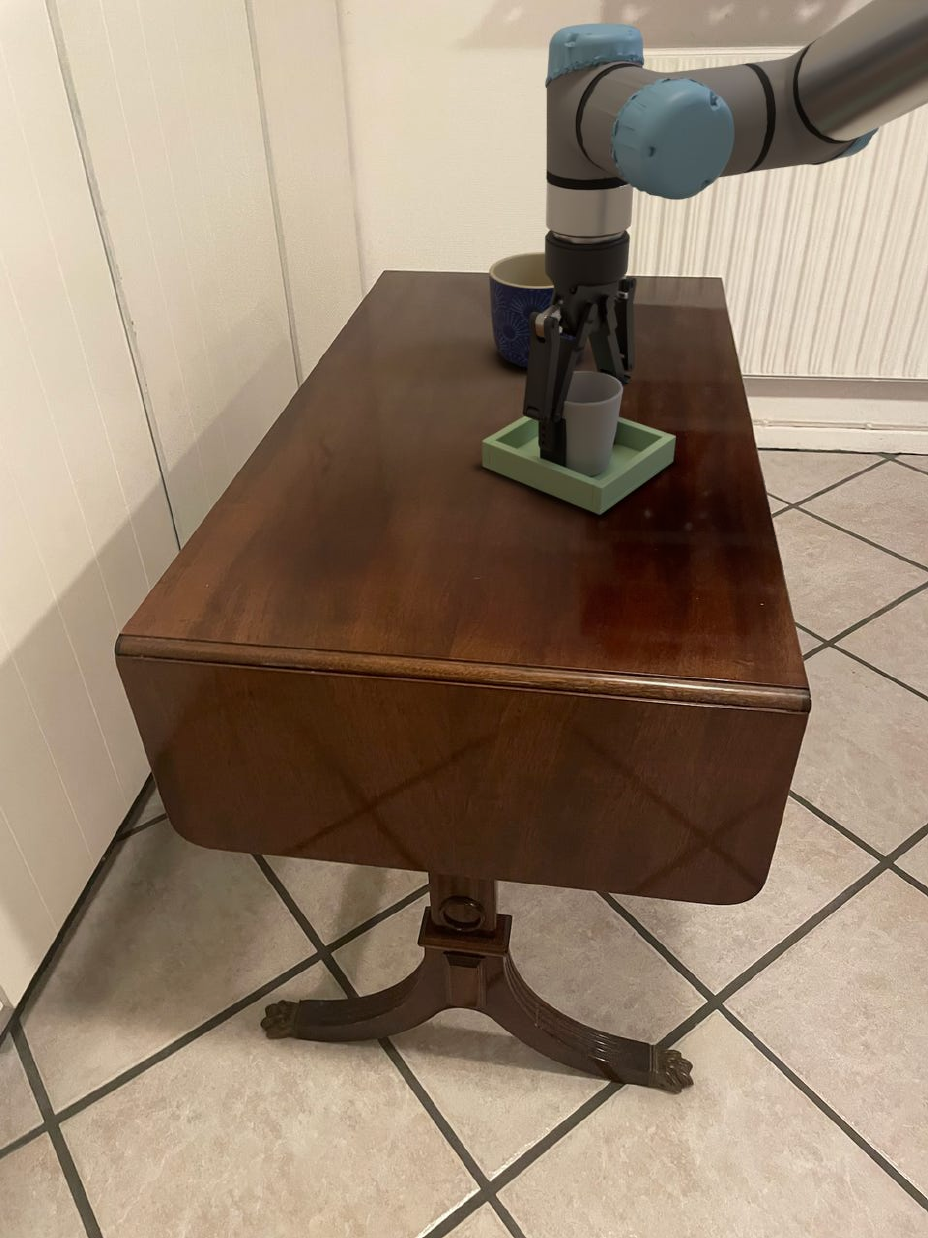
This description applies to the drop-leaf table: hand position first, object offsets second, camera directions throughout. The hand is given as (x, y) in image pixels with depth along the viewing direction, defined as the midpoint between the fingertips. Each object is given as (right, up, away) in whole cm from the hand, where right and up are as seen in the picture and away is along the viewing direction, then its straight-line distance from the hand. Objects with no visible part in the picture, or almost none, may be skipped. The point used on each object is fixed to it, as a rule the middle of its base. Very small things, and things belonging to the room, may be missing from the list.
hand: (578, 457), depth 98 cm
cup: (0, 0, 0) cm, 1 cm away
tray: (0, -1, +1) cm, 1 cm away
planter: (-2, +17, +22) cm, 28 cm away
